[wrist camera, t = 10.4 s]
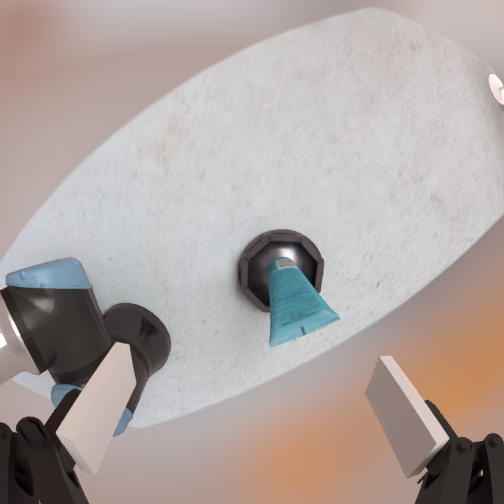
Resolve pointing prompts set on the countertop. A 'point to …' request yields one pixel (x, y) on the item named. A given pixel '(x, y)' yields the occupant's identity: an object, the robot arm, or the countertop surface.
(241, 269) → the octagonal bowl
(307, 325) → the tube
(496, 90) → the wineglass
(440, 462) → the robot arm
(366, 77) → the countertop surface
